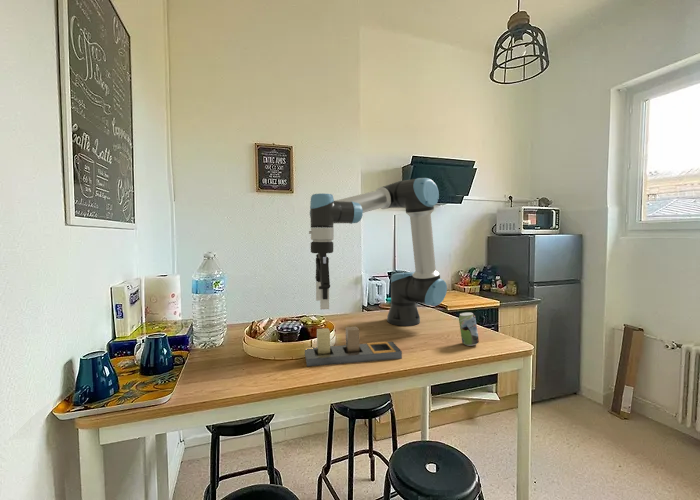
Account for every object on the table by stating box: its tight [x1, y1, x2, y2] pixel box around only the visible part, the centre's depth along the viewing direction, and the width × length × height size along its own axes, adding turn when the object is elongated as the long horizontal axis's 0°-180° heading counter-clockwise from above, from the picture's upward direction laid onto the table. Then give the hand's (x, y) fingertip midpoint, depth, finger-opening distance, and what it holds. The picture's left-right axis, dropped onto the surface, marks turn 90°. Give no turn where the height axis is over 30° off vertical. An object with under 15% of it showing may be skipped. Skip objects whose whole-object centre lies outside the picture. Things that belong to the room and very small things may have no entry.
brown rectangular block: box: [345, 326, 360, 353], centre depth 119 cm, size 4×4×10 cm
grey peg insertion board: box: [304, 341, 403, 367], centre depth 120 cm, size 10×32×3 cm, turn 101°
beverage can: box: [458, 312, 480, 347], centre depth 131 cm, size 6×7×12 cm
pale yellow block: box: [316, 327, 331, 356], centre depth 117 cm, size 4×4×10 cm
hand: (322, 304), depth 116 cm, fingers open, 13 cm apart
